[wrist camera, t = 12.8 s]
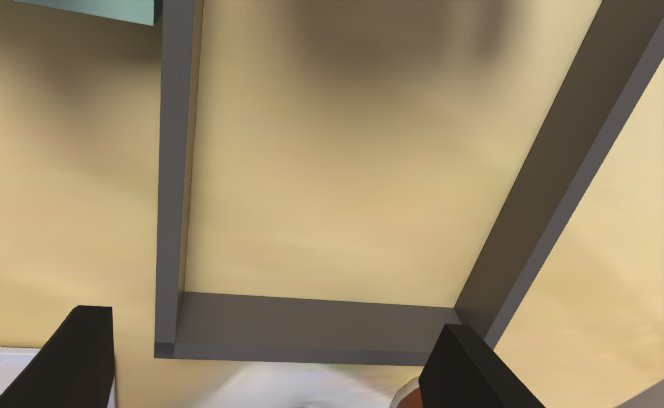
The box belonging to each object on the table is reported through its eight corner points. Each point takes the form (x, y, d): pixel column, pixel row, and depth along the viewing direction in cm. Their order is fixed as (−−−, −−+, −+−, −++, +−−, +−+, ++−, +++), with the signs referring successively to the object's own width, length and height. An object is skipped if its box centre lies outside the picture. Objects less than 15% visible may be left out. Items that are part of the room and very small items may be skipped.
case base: (461, 322, 26) (482, 368, 23) (165, 306, 22) (154, 358, 20) (636, -24, 17) (701, -8, 14) (183, -141, 13) (167, -147, 11)
